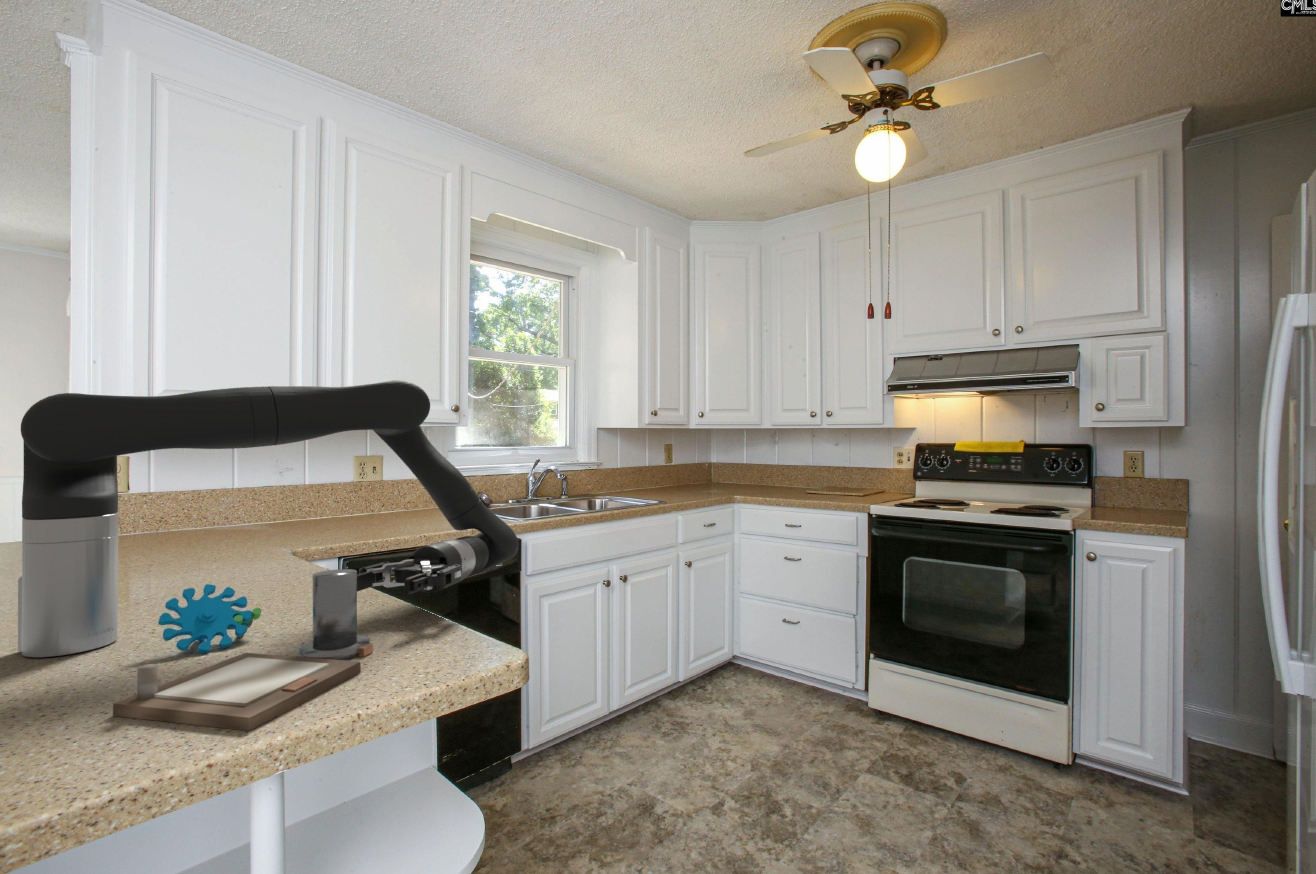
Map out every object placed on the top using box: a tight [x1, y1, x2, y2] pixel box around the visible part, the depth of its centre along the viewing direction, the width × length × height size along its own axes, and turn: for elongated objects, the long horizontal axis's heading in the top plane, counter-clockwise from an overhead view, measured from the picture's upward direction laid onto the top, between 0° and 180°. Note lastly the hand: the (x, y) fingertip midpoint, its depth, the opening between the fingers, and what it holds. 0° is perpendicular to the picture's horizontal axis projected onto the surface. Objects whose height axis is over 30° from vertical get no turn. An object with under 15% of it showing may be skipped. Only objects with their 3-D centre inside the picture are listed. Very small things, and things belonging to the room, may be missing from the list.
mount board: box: [112, 652, 362, 732], centre depth 66 cm, size 16×15×4 cm
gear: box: [157, 583, 262, 654], centre depth 83 cm, size 11×6×10 cm
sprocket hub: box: [298, 568, 374, 661], centre depth 79 cm, size 9×8×10 cm
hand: (379, 585), depth 88 cm, fingers open, 8 cm apart
